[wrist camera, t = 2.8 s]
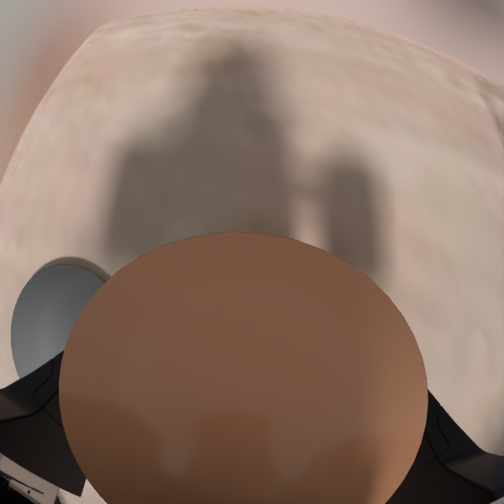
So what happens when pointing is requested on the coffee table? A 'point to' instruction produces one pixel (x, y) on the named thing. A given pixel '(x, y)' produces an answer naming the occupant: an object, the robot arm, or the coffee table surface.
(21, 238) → the coffee table surface
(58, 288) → the coaster
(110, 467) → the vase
